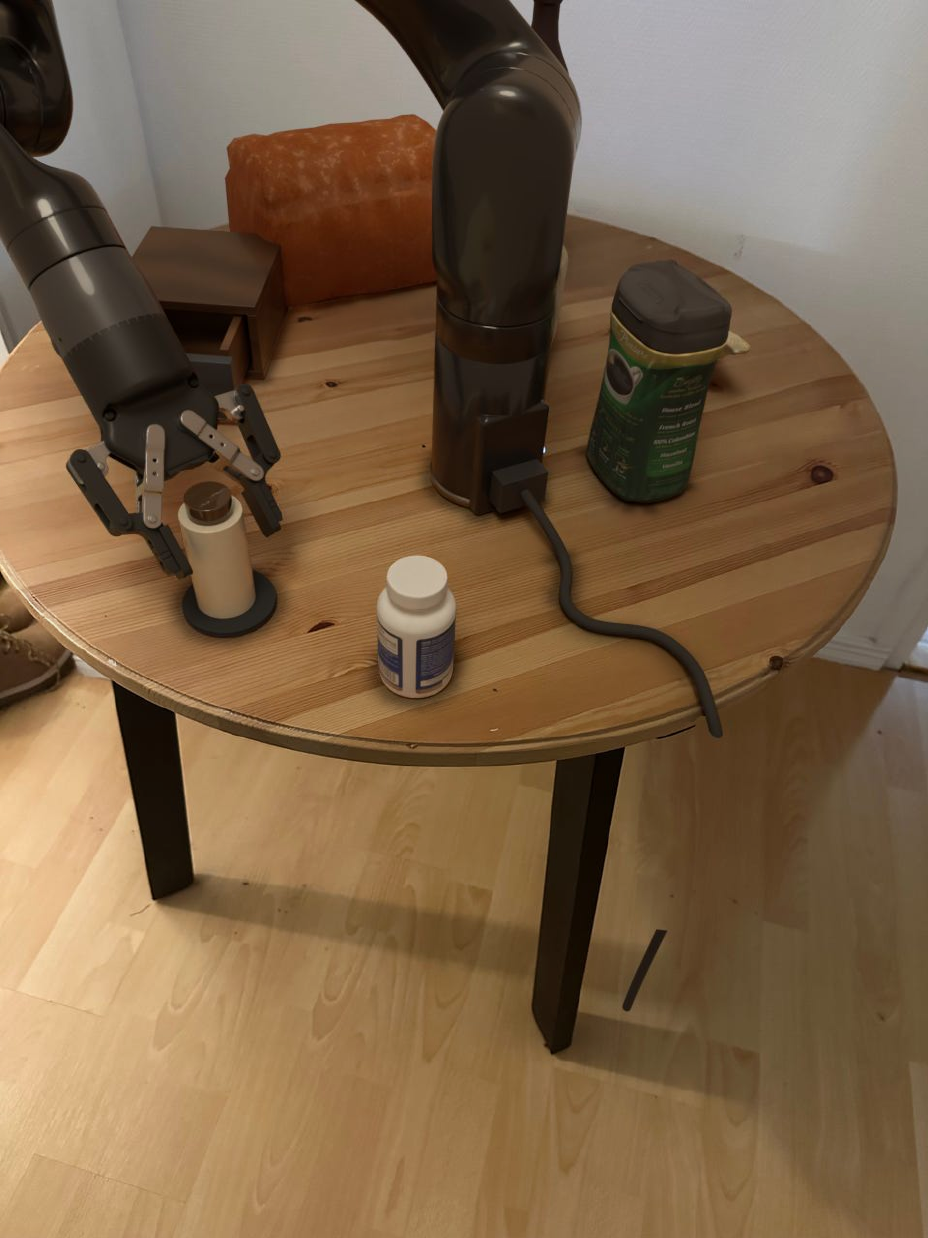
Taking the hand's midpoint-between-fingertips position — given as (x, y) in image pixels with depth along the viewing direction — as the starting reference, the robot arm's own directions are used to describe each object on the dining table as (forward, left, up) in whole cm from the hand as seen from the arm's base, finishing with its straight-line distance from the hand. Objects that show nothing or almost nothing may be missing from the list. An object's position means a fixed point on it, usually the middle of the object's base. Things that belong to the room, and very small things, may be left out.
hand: (231, 554), depth 67 cm
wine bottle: (+37, -45, -7) cm, 58 cm away
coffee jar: (+3, -38, -7) cm, 38 cm away
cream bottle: (+2, +1, -6) cm, 6 cm away
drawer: (+31, -5, -5) cm, 32 cm away
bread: (+49, -29, -6) cm, 57 cm away
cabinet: (+40, -10, -6) cm, 41 cm away
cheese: (+16, -53, -7) cm, 55 cm away
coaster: (+2, 0, -6) cm, 7 cm away
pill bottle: (-10, -10, -7) cm, 16 cm away
